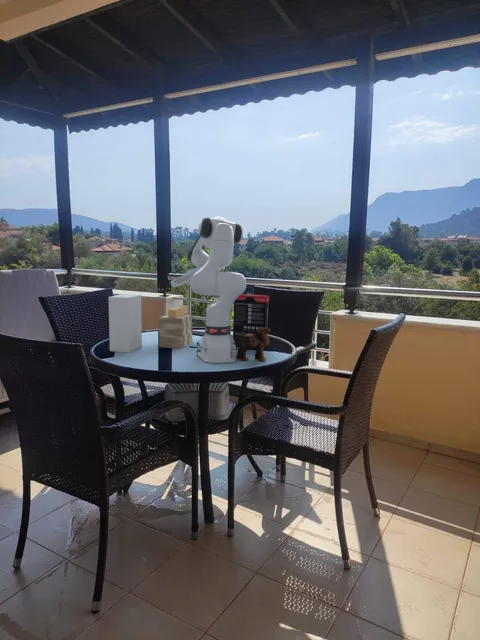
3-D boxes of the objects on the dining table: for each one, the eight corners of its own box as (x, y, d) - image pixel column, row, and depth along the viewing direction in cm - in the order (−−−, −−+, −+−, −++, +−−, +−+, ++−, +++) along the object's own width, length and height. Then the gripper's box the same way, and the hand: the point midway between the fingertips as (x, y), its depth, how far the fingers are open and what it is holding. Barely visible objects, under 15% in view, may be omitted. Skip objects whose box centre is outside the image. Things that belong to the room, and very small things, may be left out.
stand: (123, 345, 223) (122, 294, 219) (141, 346, 221) (141, 295, 217) (109, 351, 210) (108, 296, 206) (129, 352, 208) (128, 297, 204)
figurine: (269, 363, 193) (270, 329, 191) (234, 361, 194) (235, 328, 192) (269, 358, 202) (270, 325, 200) (237, 356, 204) (237, 324, 201)
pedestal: (170, 341, 236) (170, 313, 233) (192, 342, 233) (192, 314, 231) (159, 347, 220) (159, 317, 218) (182, 348, 218) (182, 318, 216)
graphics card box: (267, 347, 224) (269, 294, 220) (265, 350, 218) (266, 295, 214) (235, 345, 228) (236, 293, 224) (232, 348, 222) (232, 294, 218)
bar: (181, 312, 238) (181, 305, 237) (188, 313, 237) (188, 305, 236) (168, 317, 219) (168, 309, 219) (175, 317, 218) (175, 309, 218)
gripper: (175, 278, 253) (163, 280, 240) (205, 265, 246) (194, 266, 233) (179, 288, 253) (168, 290, 240) (209, 275, 246) (199, 277, 233)
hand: (181, 278), depth 237 cm, fingers open, 8 cm apart
